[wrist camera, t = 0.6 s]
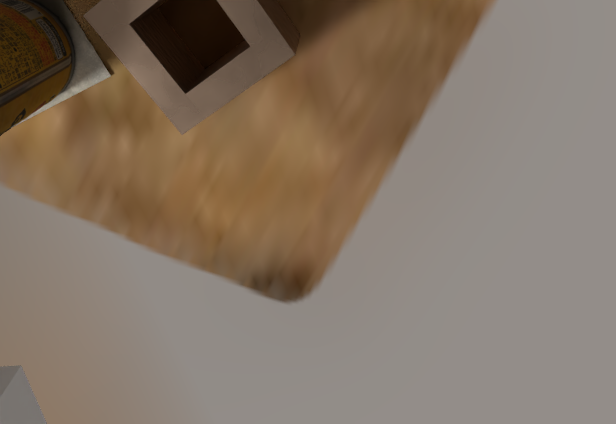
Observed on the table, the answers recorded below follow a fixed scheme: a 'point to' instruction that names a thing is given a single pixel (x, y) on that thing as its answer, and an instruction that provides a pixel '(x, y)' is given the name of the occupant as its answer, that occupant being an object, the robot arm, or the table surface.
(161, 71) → the link
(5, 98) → the condiment
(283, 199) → the table surface
